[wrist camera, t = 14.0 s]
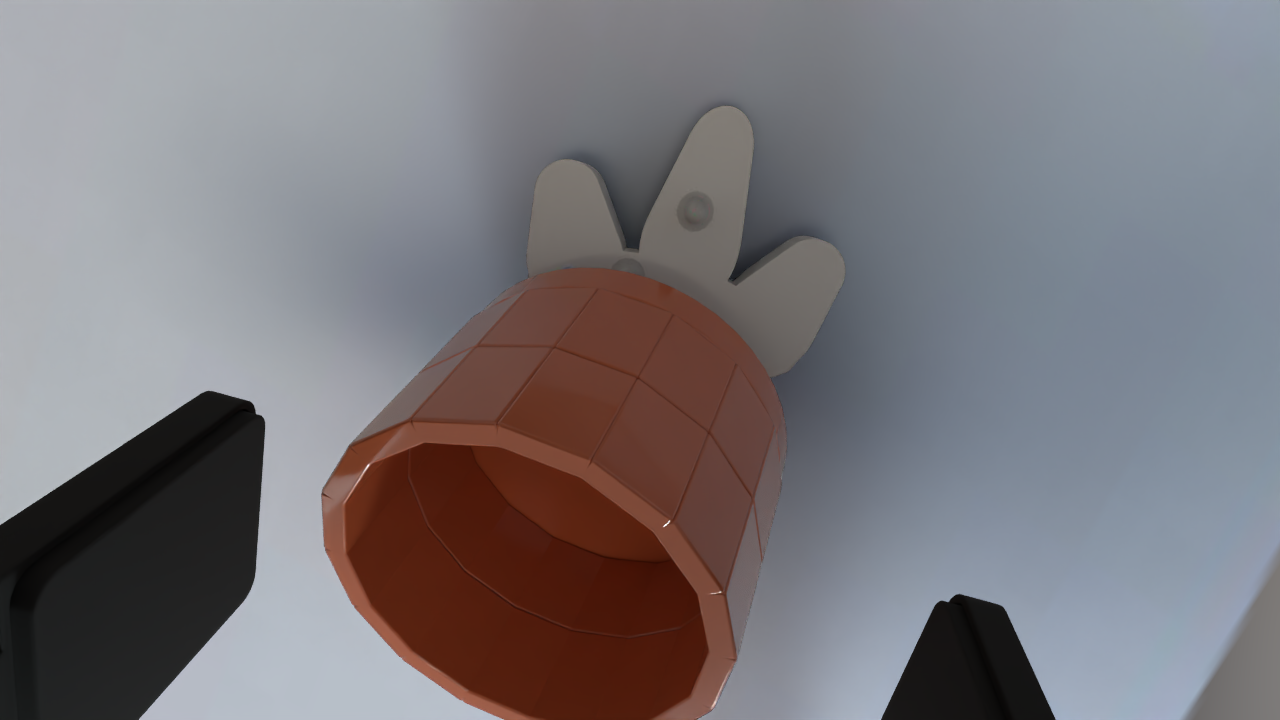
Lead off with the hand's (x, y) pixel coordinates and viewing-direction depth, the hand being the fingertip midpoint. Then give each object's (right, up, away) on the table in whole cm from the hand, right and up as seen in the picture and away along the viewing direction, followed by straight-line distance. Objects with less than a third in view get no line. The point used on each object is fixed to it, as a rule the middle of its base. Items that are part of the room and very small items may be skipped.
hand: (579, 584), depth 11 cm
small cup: (0, +2, +4) cm, 5 cm away
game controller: (+1, +3, +7) cm, 7 cm away
